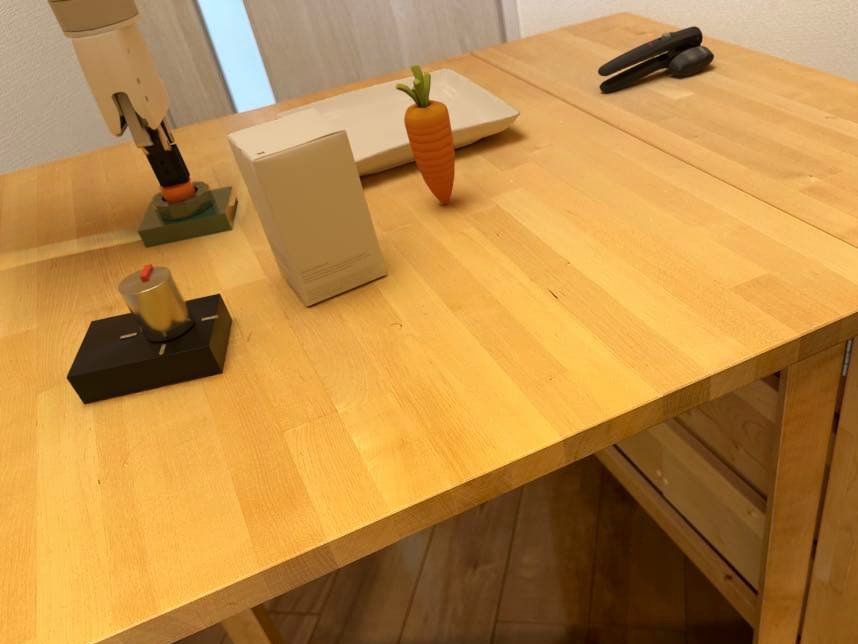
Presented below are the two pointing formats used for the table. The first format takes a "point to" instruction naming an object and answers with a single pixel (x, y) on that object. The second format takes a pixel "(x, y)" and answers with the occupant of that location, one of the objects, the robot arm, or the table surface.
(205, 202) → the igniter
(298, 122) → the white product box
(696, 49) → the can opener
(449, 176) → the carrot
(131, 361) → the stove panel
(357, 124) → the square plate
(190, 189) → the button
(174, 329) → the burner knob
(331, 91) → the table surface
